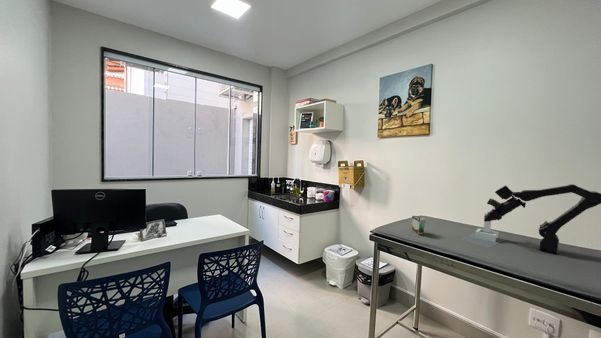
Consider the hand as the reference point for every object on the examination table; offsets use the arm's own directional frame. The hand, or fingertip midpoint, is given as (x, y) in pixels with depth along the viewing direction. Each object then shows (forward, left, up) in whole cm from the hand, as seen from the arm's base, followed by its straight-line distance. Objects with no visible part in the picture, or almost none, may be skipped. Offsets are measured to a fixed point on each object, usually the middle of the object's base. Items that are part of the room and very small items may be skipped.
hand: (485, 220), depth 153 cm
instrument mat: (-1, +5, -11) cm, 12 cm away
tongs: (-1, 0, -7) cm, 7 cm away
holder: (-1, 0, -11) cm, 11 cm away
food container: (+27, +26, -11) cm, 39 cm away
